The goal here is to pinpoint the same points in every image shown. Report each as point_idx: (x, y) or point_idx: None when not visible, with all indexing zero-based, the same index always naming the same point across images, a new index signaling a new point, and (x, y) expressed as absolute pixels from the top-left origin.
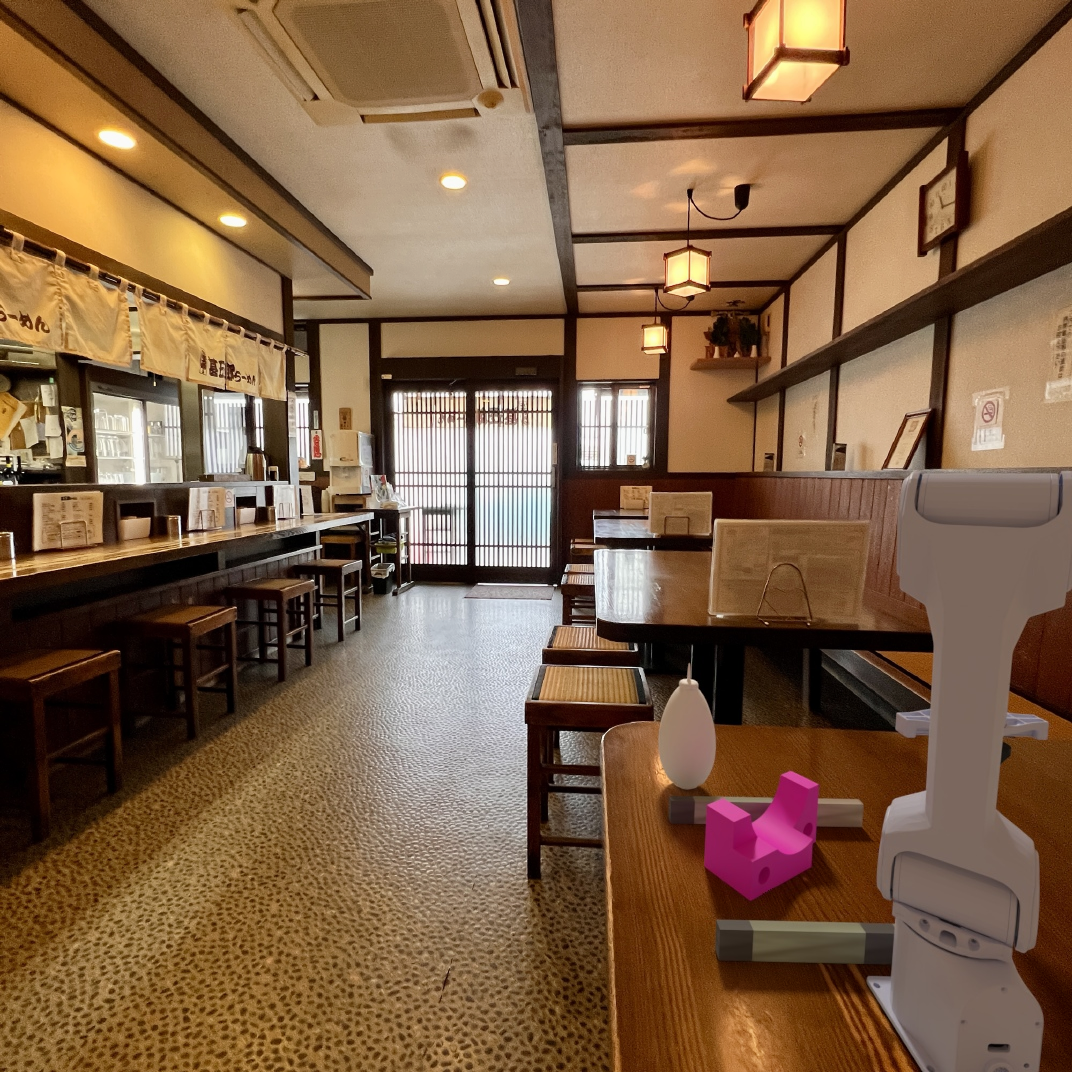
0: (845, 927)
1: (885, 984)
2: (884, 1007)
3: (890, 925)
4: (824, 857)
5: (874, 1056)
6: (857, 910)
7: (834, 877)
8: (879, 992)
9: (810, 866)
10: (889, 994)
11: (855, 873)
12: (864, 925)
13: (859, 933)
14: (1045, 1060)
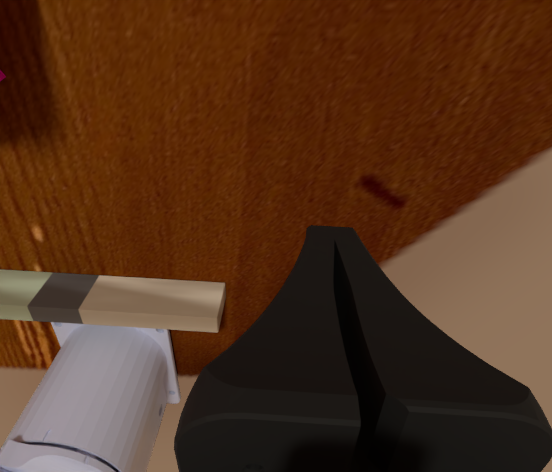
0: (5, 311)
1: (69, 323)
2: (59, 343)
3: (74, 313)
4: (43, 38)
5: (40, 365)
6: (77, 200)
7: (54, 113)
8: (58, 331)
9: (3, 78)
10: (70, 332)
11: (104, 101)
12: (34, 311)
13: (24, 318)
14: None
